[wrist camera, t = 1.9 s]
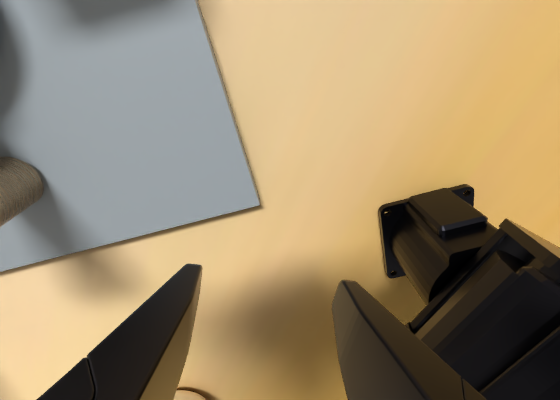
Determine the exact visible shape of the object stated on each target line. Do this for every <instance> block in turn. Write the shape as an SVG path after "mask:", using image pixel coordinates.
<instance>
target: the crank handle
mask: <svg viewBox="0 0 560 400" xmlns="http://www.w3.org/2000/svg"><path fill="white" fill-rule="evenodd" d="M43 192H44V185H43V181H42V179H41V177H40V175H39V174H38V172H37V171H36V170H35V169H34V168H33V167H32V166H30V165H29V164H27V163H26V162H24V161H22V160H19V159H17V158H13V157H0V227H1V226H3V225H4V224H6V223H7V222H8V221H10V220H11V219H13V218H14V217H16V216H17V215H18V214H20V213H21V212H23V211H24V210H25V209H27V208H28V207H30V206H31V205H33V204H34V203H35V202H37V201H38V200H39V199H40V198H41V197H42V195H43Z"/></svg>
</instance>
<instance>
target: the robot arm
mask: <svg viewBox="0 0 560 400" xmlns="http://www.w3.org/2000/svg"><path fill="white" fill-rule="evenodd" d="M466 190H467V192H466V193H464V192H465V191H466ZM463 193H464V194H463ZM473 206H474V189H473V188H472V187H471V186H469V185H467V184H463V185H459V186H455V187H451V188H442V189H439V190H435V191H431V192H427V193H423V194H419V195H415V196H411V197H410V198H408V199H404V200H400V201H396V202H392V203H388V204H384V205H382V206H381V207H380V208H379V221H380V229H381V238H382V247H383V255H384V264H385V272H386V274H387V276H388V277H389V278H397V277H401V276H405V275H407V277H408V278H409V280H410V281H411V283H412V284H413V286H414V287H415V289H416V290H417V292H418V293H419V295H420V296H421V298H422V299H423V301H424V302H425V304H426V305H427V306H426V307H425V308H424V309H423V310H422V311H421V312H420V313H419V314H418V315H417V316H416V318H415V319H414V320H413V321H412V322H411V323H410V322H408V323H407V324H406V325H405V326H404V325H403V324H402V323H401V322H400V321H399V320H398V319H397V318H396V317H394V316H393V315H392V314H391V313H390V312H389V311H388V310H387V309H386V308H384V307H383V306H382V305H381V304H380V303H379V302H378V301H377V300H376V299H375V298H373V297H372V296H371V295H370V294H369V293H368V292H367V291H366V290H365V289H363V288H362V287H361V286H360V285H359V284H358V283H357V282H355V281H350V280H341V281H340V283H339V285H338V288H337V290H336V293H335V296H334V299H333V302H332V313H333V321H334V328H335V336H336V344H337V352H338V359H339V364H340V369H341V373H342V377H343V382H344V386H345V390H346V394H347V398H348V400H560V248H559V247H558V246H556V245H554V244H552V243H550V242H548V241H547V240H545V239H543V238H541V237H539V236H538V235H536V234H534V233H532V232H530V231H528V230H527V229H525V228H523V227H521V226H519V225H518V224H516V223H514V222H512V221H510V220H509V219H507V218H506V219H505V220H504V221H503V222H502V223H501V224H500V225H499V227H500V228H499V229H497V228H495V227H494V226H493V225H491V224H490V223H489V222H487V220H488V218H487V217H486V216H485V215H483V214H482V213H481V212H479V211H478V210H476V209H475V208H474V207H473ZM386 210H389V212H388V213H385V214H384V212H385V211H386ZM392 271H394V272H392ZM201 277H202V266H201V265H197V264H186V265H185V266H183V267H182V268H181V269H180V270H179V271H178V272H177V273H176V274H175V275H174V276H173V277H172V278H170V279H169V280H168V281H167V282H166V283H165V284H164V285H163V286H162V287H161V288H160V289H158V290H157V291H156V292H155V293H154V294H153V295H152V296H151V297H150V298H149V299H148V300H146V301H145V302H144V303H143V304H142V305H141V306H140V307H139V308H138V309H137V310H136V311H134V312H133V313H132V314H131V315H130V316H129V317H128V318H127V319H126V320H125V321H124V322H122V323H121V324H120V325H119V326H118V327H117V328H116V329H115V330H114V331H113V332H112V333H110V334H109V335H108V336H107V337H106V338H105V339H104V340H103V341H102V342H101V343H100V344H99V345H97V346H96V347H95V348H94V349H93V350H92V351H91V352H90V353H89V354H88V355H87V358H83V359H82V360H81V361H80V362H79V363H78V364H76V365H75V366H74V367H73V368H72V369H71V370H70V371H69V372H68V373H67V374H65V375H64V376H63V377H62V378H61V379H60V380H59V381H57V382H56V383H55V384H54V385H53V386H52V387H51V388H49V389H48V390H47V391H46V392H45V393H44V394H43V395H41V396H40V397H39V398H38V399H37V400H174V396H175V393H176V390H177V387H178V384H179V381H180V377H181V374H182V371H183V368H184V365H185V362H186V358H187V355H188V351H189V347H190V342H191V337H192V331H193V326H194V321H195V316H196V310H197V305H198V300H199V294H200V286H201Z"/></svg>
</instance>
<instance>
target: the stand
mask: <svg viewBox="0 0 560 400" xmlns="http://www.w3.org/2000/svg"><path fill="white" fill-rule="evenodd" d="M0 157H13V158H17V159H19V160H22V161H24V162H26V163H27V164H29V165H30V166H32V167H33V168H34V169H35V170H36V171H37V172H38V174H39V175H40V177H41V179H42V181H43V185H44V192H43V195H42V197H41V198H40V199H39V200H38V201H37V202H35V203H34V204H33V205H31V206H30V207H28V208H27V209H25V210H24V211H23V212H21V213H20V214H18V215H17V216H16V217H14V218H13V219H11V220H10V221H8V222H7V223H6V224H4V225H3V226H1V227H0V272H1V271H5V270H9V269H13V268H17V267H21V266H25V265H28V264H32V263H36V262H40V261H44V260H48V259H52V258H56V257H60V256H63V255H67V254H71V253H75V252H79V251H83V250H87V249H91V248H95V247H99V246H102V245H106V244H110V243H114V242H118V241H122V240H126V239H130V238H134V237H138V236H141V235H145V234H149V233H153V232H157V231H161V230H165V229H169V228H173V227H177V226H180V225H184V224H188V223H192V222H196V221H200V220H204V219H208V218H212V217H216V216H219V215H223V214H227V213H231V212H235V211H239V210H243V209H247V208H251V207H254V206H258V205H260V198H259V195H258V192H257V189H256V185H255V182H254V179H253V176H252V173H251V169H250V166H249V163H248V160H247V157H246V153H245V150H244V147H243V144H242V141H241V137H240V134H239V131H238V128H237V125H236V122H235V118H234V115H233V112H232V109H231V106H230V102H229V99H228V96H227V93H226V90H225V86H224V83H223V80H222V77H221V74H220V71H219V67H218V64H217V61H216V58H215V55H214V51H213V48H212V45H211V42H210V39H209V35H208V32H207V29H206V26H205V23H204V20H203V16H202V13H201V10H200V7H199V4H198V0H0Z"/></svg>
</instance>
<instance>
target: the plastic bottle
mask: <svg viewBox="0 0 560 400" xmlns="http://www.w3.org/2000/svg"><path fill="white" fill-rule="evenodd" d="M174 400H207V399H205V398H204V397H203V396H201V395H200V394H197V393H195V392H191V391H185V390H176V393H175V396H174Z"/></svg>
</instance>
